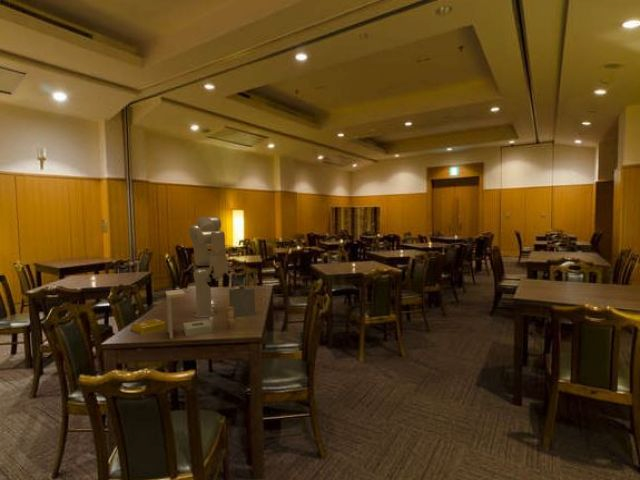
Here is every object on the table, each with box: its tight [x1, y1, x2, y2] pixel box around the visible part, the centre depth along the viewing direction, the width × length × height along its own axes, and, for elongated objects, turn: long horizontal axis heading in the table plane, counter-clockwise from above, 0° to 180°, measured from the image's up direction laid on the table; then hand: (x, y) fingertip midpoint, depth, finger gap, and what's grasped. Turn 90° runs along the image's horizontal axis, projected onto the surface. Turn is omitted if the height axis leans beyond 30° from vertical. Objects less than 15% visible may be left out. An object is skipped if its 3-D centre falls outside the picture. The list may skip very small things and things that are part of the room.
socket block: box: [165, 289, 213, 340], centre depth 214 cm, size 14×22×24 cm, turn 115°
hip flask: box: [228, 284, 256, 318], centre depth 248 cm, size 16×4×20 cm, turn 103°
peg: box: [226, 306, 235, 330], centre depth 221 cm, size 4×4×12 cm
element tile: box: [130, 318, 167, 335], centre depth 223 cm, size 15×15×5 cm
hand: (220, 284), depth 213 cm, fingers open, 9 cm apart
